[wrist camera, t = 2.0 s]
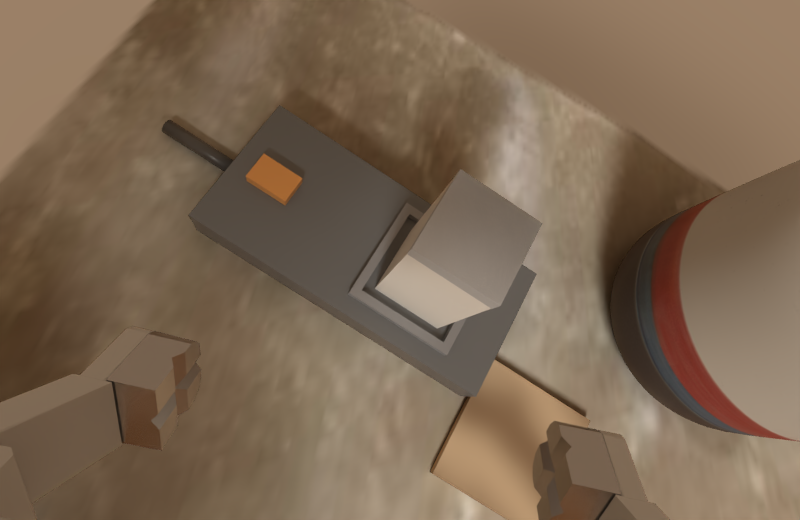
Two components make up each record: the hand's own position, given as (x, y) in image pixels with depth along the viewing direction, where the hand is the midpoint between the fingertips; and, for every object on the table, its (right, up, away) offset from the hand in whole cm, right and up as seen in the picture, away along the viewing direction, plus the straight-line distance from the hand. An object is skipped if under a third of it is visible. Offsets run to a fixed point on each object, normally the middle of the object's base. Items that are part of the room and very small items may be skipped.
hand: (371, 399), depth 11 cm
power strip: (-4, +5, +24) cm, 25 cm away
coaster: (+9, -10, +23) cm, 27 cm away
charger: (+2, +2, +22) cm, 22 cm away
